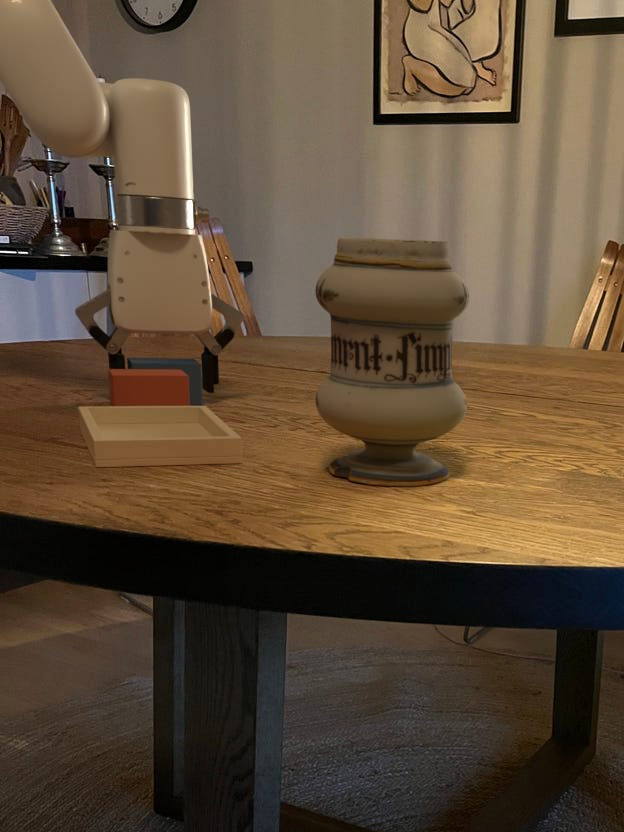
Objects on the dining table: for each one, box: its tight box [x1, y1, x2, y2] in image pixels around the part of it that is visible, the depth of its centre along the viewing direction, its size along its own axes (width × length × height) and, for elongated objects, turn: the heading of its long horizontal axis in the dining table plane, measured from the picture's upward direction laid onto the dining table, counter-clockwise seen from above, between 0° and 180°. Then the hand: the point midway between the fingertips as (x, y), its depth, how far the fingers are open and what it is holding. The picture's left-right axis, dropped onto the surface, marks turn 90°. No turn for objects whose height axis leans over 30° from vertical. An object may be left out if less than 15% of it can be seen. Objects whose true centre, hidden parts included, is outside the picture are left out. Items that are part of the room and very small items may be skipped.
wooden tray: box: [77, 405, 243, 468], centre depth 89 cm, size 17×11×2 cm
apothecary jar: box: [315, 237, 470, 488], centre depth 81 cm, size 12×12×18 cm
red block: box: [107, 368, 190, 406], centre depth 101 cm, size 7×5×4 cm, turn 114°
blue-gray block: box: [126, 357, 203, 406], centre depth 111 cm, size 7×5×4 cm, turn 114°
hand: (165, 390), depth 111 cm, fingers open, 8 cm apart
